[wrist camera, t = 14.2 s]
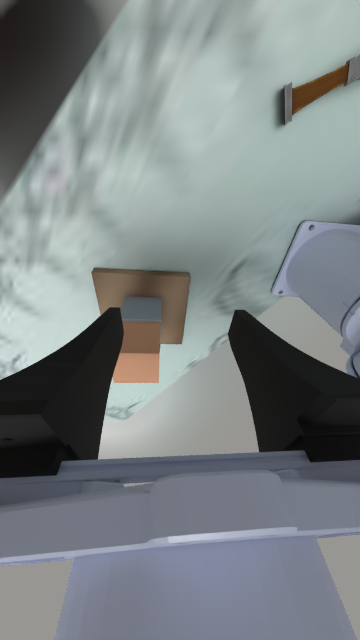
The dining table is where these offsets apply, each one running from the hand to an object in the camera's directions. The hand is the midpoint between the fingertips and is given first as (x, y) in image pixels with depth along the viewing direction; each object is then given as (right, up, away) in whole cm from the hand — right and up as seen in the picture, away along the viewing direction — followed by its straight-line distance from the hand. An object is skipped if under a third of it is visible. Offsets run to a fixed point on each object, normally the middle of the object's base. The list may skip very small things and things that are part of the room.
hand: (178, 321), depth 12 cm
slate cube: (-4, +1, +10) cm, 11 cm away
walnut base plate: (-4, +1, +11) cm, 12 cm away
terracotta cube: (-4, -2, +7) cm, 8 cm away
